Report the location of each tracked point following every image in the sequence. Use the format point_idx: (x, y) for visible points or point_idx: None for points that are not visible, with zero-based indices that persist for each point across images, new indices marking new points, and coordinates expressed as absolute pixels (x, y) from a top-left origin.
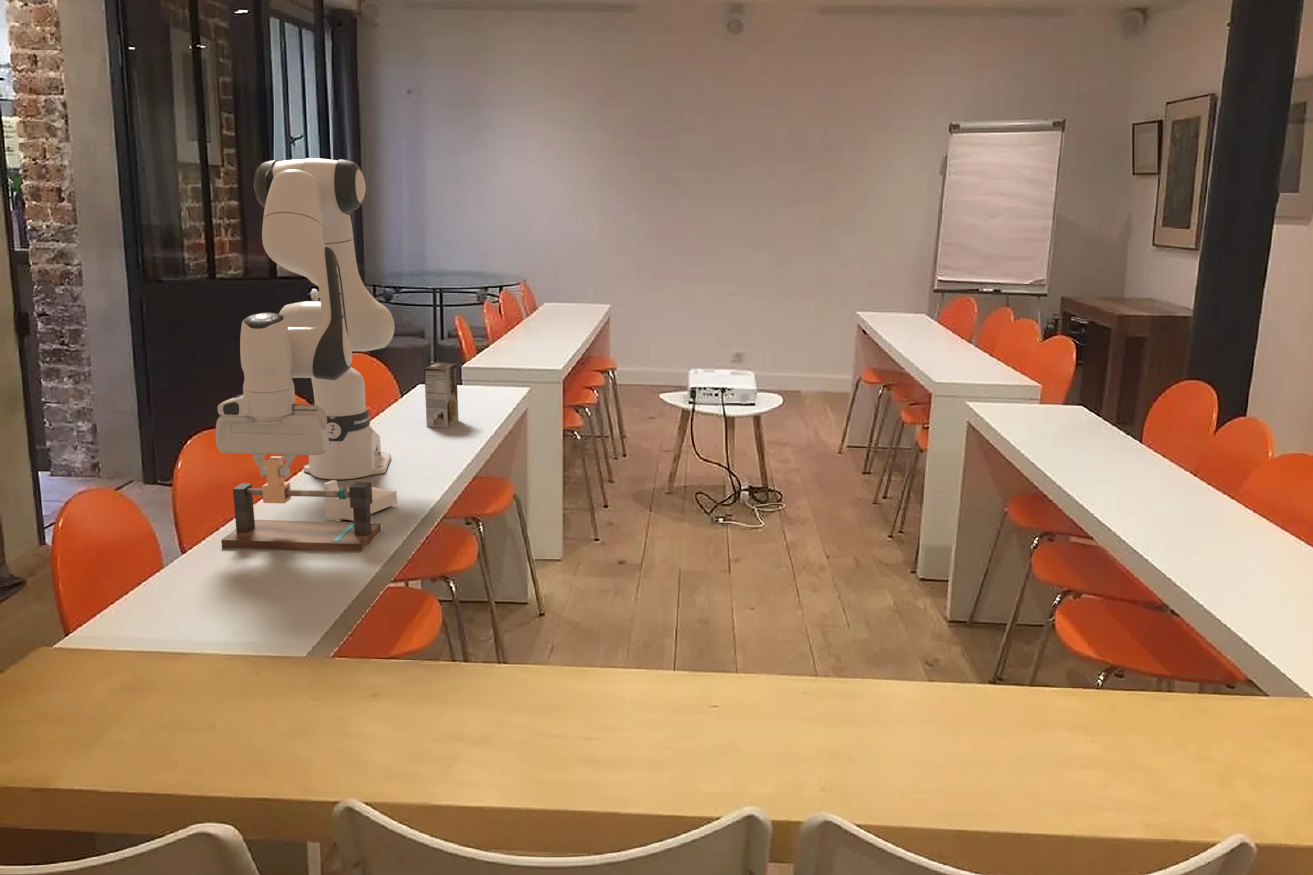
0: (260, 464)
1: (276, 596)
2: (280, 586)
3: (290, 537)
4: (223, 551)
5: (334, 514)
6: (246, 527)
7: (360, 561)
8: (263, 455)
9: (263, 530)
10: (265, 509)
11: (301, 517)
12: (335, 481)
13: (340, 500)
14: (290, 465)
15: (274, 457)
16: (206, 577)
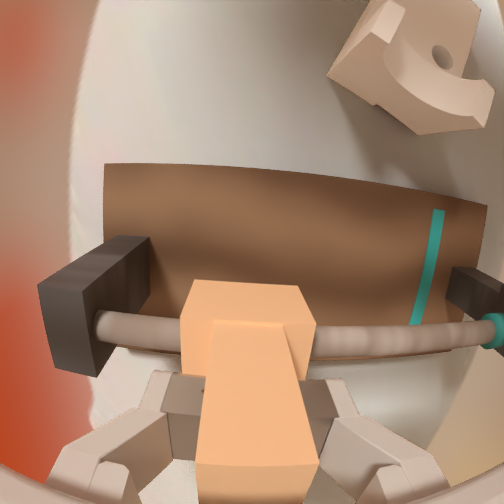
0: (149, 477)
1: (318, 493)
2: (317, 477)
3: None
4: (137, 358)
5: (364, 91)
6: (145, 301)
7: (436, 383)
8: (133, 498)
9: (189, 271)
10: (117, 13)
11: (245, 62)
12: (403, 14)
13: (413, 99)
14: (369, 420)
15: (245, 492)
16: (183, 461)
